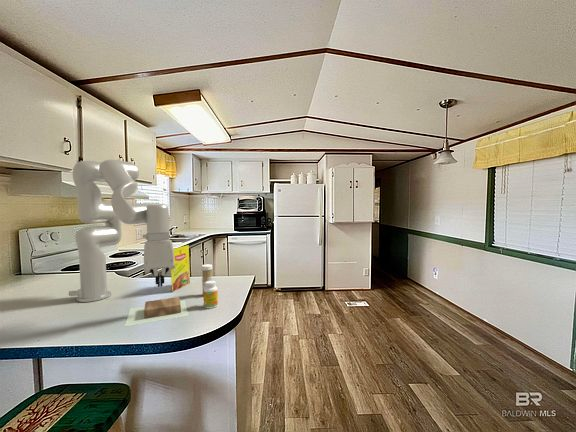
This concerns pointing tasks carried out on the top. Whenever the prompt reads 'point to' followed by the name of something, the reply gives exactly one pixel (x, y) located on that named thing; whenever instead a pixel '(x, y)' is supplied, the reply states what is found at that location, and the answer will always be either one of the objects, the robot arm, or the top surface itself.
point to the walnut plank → (162, 307)
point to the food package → (180, 268)
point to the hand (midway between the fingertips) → (160, 285)
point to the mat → (138, 317)
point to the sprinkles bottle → (206, 274)
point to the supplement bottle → (210, 295)
